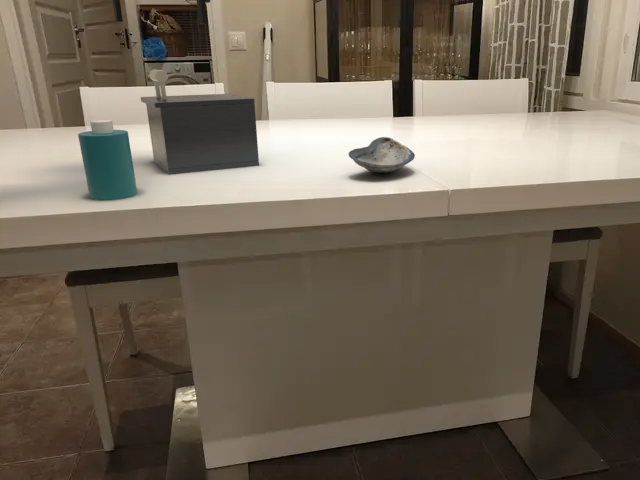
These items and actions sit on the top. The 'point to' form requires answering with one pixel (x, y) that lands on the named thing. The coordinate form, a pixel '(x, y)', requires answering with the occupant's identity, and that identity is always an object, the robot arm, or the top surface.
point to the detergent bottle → (107, 162)
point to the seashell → (382, 155)
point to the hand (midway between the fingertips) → (162, 23)
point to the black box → (203, 137)
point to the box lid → (187, 96)
